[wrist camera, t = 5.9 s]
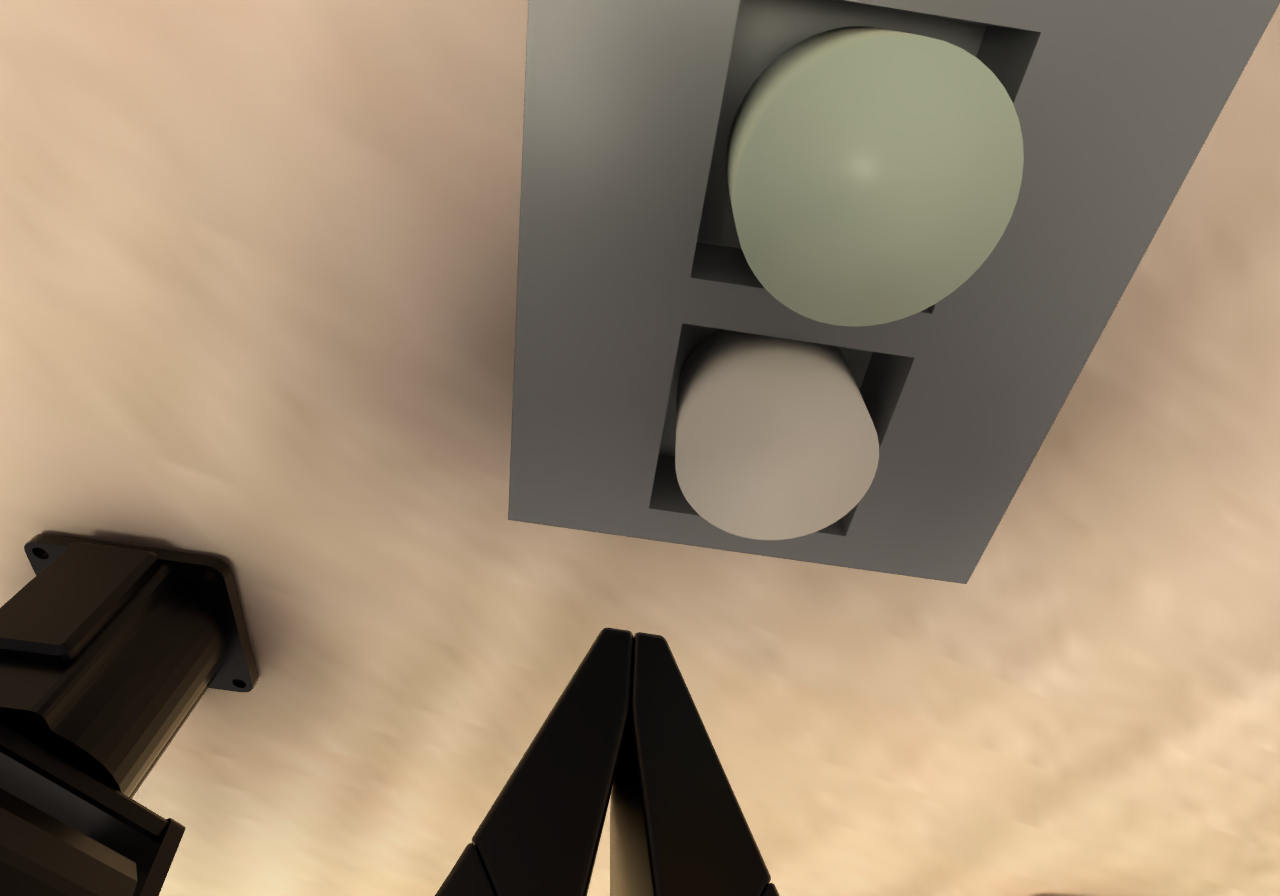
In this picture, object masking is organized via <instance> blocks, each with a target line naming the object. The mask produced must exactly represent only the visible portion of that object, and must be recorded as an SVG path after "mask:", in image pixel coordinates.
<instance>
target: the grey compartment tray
mask: <svg viewBox="0 0 1280 896" xmlns="http://www.w3.org/2000/svg"><path fill="white" fill-rule="evenodd" d="M1279 3H1280V0H528V22H527V48H526V74H525V99H524V125H523V151H522V177H521V202H520V228H519V254H518V280H517V306H516V331H515V357H514V383H513V409H512V434H511V460H510V486H509V512H508V520H513V521H520V522H528V523H535V524H542V525H549V526H556V527H563V528H570V529H577V530H585V531H592V532H599V533H606V534H613V535H620V536H627V537H634V538H642V539H649V540H656V541H663V542H670V543H677V544H684V545H691V546H699V547H706V548H713V549H720V550H727V551H734V552H741V553H748V554H756V555H763V556H770V557H777V558H784V559H791V560H798V561H805V562H813V563H820V564H827V565H834V566H841V567H848V568H855V569H862V570H870V571H877V572H884V573H891V574H898V575H905V576H912V577H919V578H927V579H934V580H941V581H948V582H955V583H962V584H967V582H968V580H969V578H970V576H971V574H972V573H973V571H974V569H975V567H976V565H977V563H978V561H979V560H980V558H981V556H982V554H983V552H984V550H985V549H986V547H987V545H988V543H989V541H990V539H991V537H992V536H993V534H994V532H995V530H996V528H997V526H998V524H999V523H1000V521H1001V519H1002V517H1003V515H1004V513H1005V511H1006V510H1007V508H1008V506H1009V504H1010V502H1011V500H1012V498H1013V497H1014V495H1015V493H1016V491H1017V489H1018V487H1019V485H1020V484H1021V482H1022V480H1023V478H1024V476H1025V474H1026V472H1027V471H1028V469H1029V467H1030V465H1031V463H1032V461H1033V459H1034V458H1035V456H1036V454H1037V452H1038V450H1039V448H1040V446H1041V445H1042V443H1043V441H1044V439H1045V437H1046V435H1047V433H1048V432H1049V430H1050V428H1051V426H1052V424H1053V422H1054V421H1055V419H1056V417H1057V415H1058V413H1059V411H1060V409H1061V408H1062V406H1063V404H1064V402H1065V400H1066V398H1067V396H1068V395H1069V393H1070V391H1071V389H1072V387H1073V385H1074V383H1075V382H1076V380H1077V378H1078V376H1079V374H1080V372H1081V370H1082V369H1083V367H1084V365H1085V363H1086V361H1087V359H1088V357H1089V356H1090V354H1091V352H1092V350H1093V348H1094V346H1095V344H1096V343H1097V341H1098V339H1099V337H1100V335H1101V333H1102V331H1103V330H1104V328H1105V326H1106V324H1107V322H1108V320H1109V318H1110V317H1111V315H1112V313H1113V311H1114V309H1115V307H1116V306H1117V304H1118V302H1119V300H1120V298H1121V296H1122V294H1123V293H1124V291H1125V289H1126V287H1127V285H1128V283H1129V281H1130V280H1131V278H1132V276H1133V274H1134V272H1135V270H1136V268H1137V267H1138V265H1139V263H1140V261H1141V259H1142V257H1143V255H1144V254H1145V252H1146V250H1147V248H1148V246H1149V244H1150V242H1151V241H1152V239H1153V237H1154V235H1155V233H1156V231H1157V229H1158V228H1159V226H1160V224H1161V222H1162V220H1163V218H1164V216H1165V215H1166V213H1167V211H1168V209H1169V207H1170V205H1171V203H1172V202H1173V200H1174V198H1175V196H1176V194H1177V192H1178V191H1179V189H1180V187H1181V185H1182V183H1183V181H1184V179H1185V178H1186V176H1187V174H1188V172H1189V170H1190V168H1191V166H1192V165H1193V163H1194V161H1195V159H1196V157H1197V155H1198V153H1199V152H1200V150H1201V148H1202V146H1203V144H1204V142H1205V140H1206V139H1207V137H1208V135H1209V133H1210V131H1211V129H1212V127H1213V126H1214V124H1215V122H1216V120H1217V118H1218V116H1219V114H1220V113H1221V111H1222V109H1223V107H1224V105H1225V103H1226V101H1227V100H1228V98H1229V96H1230V94H1231V92H1232V90H1233V88H1234V87H1235V85H1236V83H1237V81H1238V79H1239V77H1240V76H1241V74H1242V72H1243V70H1244V68H1245V66H1246V64H1247V63H1248V61H1249V59H1250V57H1251V55H1252V53H1253V51H1254V50H1255V48H1256V46H1257V44H1258V42H1259V40H1260V38H1261V37H1262V35H1263V33H1264V31H1265V29H1266V27H1267V25H1268V24H1269V22H1270V20H1271V18H1272V16H1273V14H1274V12H1275V11H1276V9H1277V7H1278V5H1279ZM853 26H866V27H877V28H883V29H888V30H894V31H899V32H905V33H910V34H916V35H921V36H926V37H930V38H935V39H939V40H943V41H946V42H948V43H950V44H953V45H955V46H957V47H960V48H962V49H964V50H965V51H967V52H968V53H970V54H971V55H973V56H975V57H976V58H978V59H979V60H980V61H981V62H982V63H983V64H984V65H986V66H987V67H988V68H989V69H990V70H991V71H992V72H993V73H994V74H995V76H996V77H997V78H998V80H999V81H1000V82H1001V83H1002V85H1003V86H1004V88H1005V89H1006V91H1007V93H1008V95H1009V97H1010V99H1011V100H1012V102H1013V105H1014V107H1015V110H1016V113H1017V116H1018V119H1019V122H1020V127H1021V133H1022V138H1023V152H1024V163H1023V174H1022V182H1021V186H1020V191H1019V195H1018V199H1017V202H1016V205H1015V208H1014V211H1013V214H1012V216H1011V219H1010V221H1009V223H1008V225H1007V227H1006V229H1005V231H1004V233H1003V235H1002V237H1001V238H1000V240H999V241H998V243H997V245H996V246H995V248H994V249H993V251H992V252H991V254H990V255H989V256H988V257H987V259H986V260H985V261H984V262H983V264H982V265H981V266H980V267H979V268H978V269H977V270H976V272H975V273H974V274H973V275H972V276H971V277H970V278H969V279H968V280H967V281H966V282H964V283H963V284H962V285H961V286H960V287H958V288H957V289H956V290H955V291H953V292H952V293H951V294H949V295H948V296H946V297H945V298H943V299H942V300H940V301H939V302H937V303H936V304H934V305H932V306H930V307H928V308H926V309H924V310H923V311H921V312H919V313H916V314H913V315H911V316H908V317H906V318H903V319H900V320H896V321H893V322H889V323H885V324H879V325H872V326H856V327H850V326H838V325H832V324H827V323H822V322H818V321H815V320H813V319H810V318H807V317H804V316H802V315H800V314H798V313H796V312H794V311H793V310H791V309H789V308H788V307H786V306H785V305H783V304H782V303H781V302H779V301H778V300H777V299H775V298H774V297H773V296H772V295H771V294H770V293H769V292H768V291H767V290H766V289H765V288H764V287H763V285H762V284H761V283H760V282H759V280H758V279H757V278H756V276H755V275H754V273H753V271H752V270H751V268H750V266H749V265H748V263H747V261H746V258H745V256H744V253H743V251H742V248H741V245H740V242H739V238H738V234H737V230H736V225H735V220H734V216H733V211H732V206H731V201H730V196H729V192H728V186H727V178H726V152H727V145H728V139H729V135H730V131H731V127H732V124H733V121H734V119H735V116H736V113H737V111H738V109H739V107H740V105H741V103H742V101H743V99H744V97H745V95H746V94H747V92H748V91H749V89H750V88H751V86H752V85H753V83H754V82H755V80H756V79H757V78H758V77H759V76H760V75H761V73H762V72H763V71H764V70H765V69H766V68H767V67H768V66H769V65H770V64H771V63H772V62H773V61H774V60H775V59H777V58H778V57H779V56H780V55H781V54H783V53H784V52H785V51H787V50H788V49H790V48H791V47H793V46H794V45H796V44H797V43H799V42H801V41H803V40H805V39H807V38H809V37H811V36H814V35H816V34H819V33H822V32H825V31H828V30H832V29H837V28H842V27H853ZM719 329H724V330H731V331H738V332H744V333H751V334H758V335H765V336H771V337H778V338H785V339H791V340H798V341H805V342H812V343H818V344H825V345H832V346H837V347H838V348H839V349H840V350H841V352H842V354H843V356H844V358H845V359H846V361H847V364H848V366H849V368H850V371H851V373H852V375H853V378H854V380H855V382H856V385H857V387H858V389H859V391H860V394H861V396H862V398H863V401H864V403H865V405H866V408H867V410H868V412H869V415H870V417H871V419H872V422H873V424H874V427H875V430H876V432H877V437H878V442H879V460H878V467H877V470H876V473H875V476H874V479H873V481H872V483H871V485H870V487H869V489H868V490H867V492H866V493H865V495H864V496H863V498H862V499H861V500H860V501H859V502H858V504H857V505H856V506H855V507H854V508H853V509H852V510H851V511H849V512H848V513H847V514H846V515H845V516H843V517H842V518H841V519H839V520H838V521H836V522H835V523H833V524H831V525H829V526H827V527H826V528H823V529H821V530H819V531H816V532H814V533H811V534H808V535H805V536H801V537H796V538H791V539H783V540H757V539H750V538H745V537H740V536H737V535H734V534H731V533H728V532H726V531H724V530H721V529H719V528H717V527H716V526H714V525H712V524H711V523H709V522H708V521H706V520H705V519H704V518H702V517H701V516H700V515H699V514H698V513H697V512H696V511H695V510H694V509H693V508H692V507H691V505H690V504H689V503H688V501H687V500H686V498H685V496H684V495H683V493H682V491H681V488H680V486H679V483H678V480H677V475H676V468H675V447H676V408H677V389H678V382H679V379H680V375H681V372H682V370H683V368H684V365H685V364H686V362H687V360H688V359H689V357H690V355H691V354H692V353H693V352H694V350H695V349H696V348H697V347H698V346H699V345H700V344H701V343H702V342H703V341H704V340H705V339H706V338H708V337H709V336H710V335H712V334H713V333H714V332H716V331H718V330H719Z"/></svg>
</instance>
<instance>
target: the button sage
mask: <svg viewBox="0 0 1280 896" xmlns="http://www.w3.org/2000/svg"><path fill="white" fill-rule="evenodd" d="M1023 163H1024V152H1023V138H1022V133H1021V127H1020V122H1019V119H1018V116H1017V113H1016V110H1015V107H1014V105H1013V102H1012V100H1011V99H1010V97H1009V95H1008V93H1007V91H1006V89H1005V88H1004V86H1003V85H1002V83H1001V82H1000V81H999V80H998V78H997V77H996V76H995V74H994V73H993V72H992V71H991V70H990V69H989V68H988V67H987V66H986V65H984V64H983V63H982V62H981V61H980V60H979V59H978V58H976V57H975V56H973V55H971V54H970V53H968V52H967V51H965V50H964V49H962V48H960V47H957V46H955V45H953V44H950V43H948V42H946V41H943V40H939V39H935V38H930V37H926V36H921V35H916V34H910V33H905V32H899V31H894V30H888V29H883V28H877V27H866V26H853V27H842V28H837V29H832V30H828V31H825V32H822V33H819V34H816V35H814V36H811V37H809V38H807V39H805V40H803V41H801V42H799V43H797V44H796V45H794V46H793V47H791V48H790V49H788V50H787V51H785V52H784V53H783V54H781V55H780V56H779V57H778V58H777V59H775V60H774V61H773V62H772V63H771V64H770V65H769V66H768V67H767V68H766V69H765V70H764V71H763V72H762V73H761V75H760V76H759V77H758V78H757V79H756V80H755V82H754V83H753V85H752V86H751V88H750V89H749V91H748V92H747V94H746V95H745V97H744V99H743V101H742V103H741V105H740V107H739V109H738V111H737V113H736V116H735V119H734V121H733V124H732V127H731V131H730V135H729V139H728V145H727V152H726V178H727V186H728V192H729V196H730V201H731V206H732V211H733V216H734V220H735V225H736V230H737V234H738V238H739V242H740V245H741V248H742V251H743V253H744V256H745V258H746V261H747V263H748V265H749V266H750V268H751V270H752V271H753V273H754V275H755V276H756V278H757V279H758V280H759V282H760V283H761V284H762V285H763V287H764V288H765V289H766V290H767V291H768V292H769V293H770V294H771V295H772V296H773V297H774V298H775V299H777V300H778V301H779V302H781V303H782V304H783V305H785V306H786V307H788V308H789V309H791V310H793V311H794V312H796V313H798V314H800V315H802V316H804V317H807V318H810V319H813V320H815V321H818V322H822V323H827V324H832V325H838V326H850V327H856V326H872V325H879V324H885V323H889V322H893V321H896V320H900V319H903V318H906V317H908V316H911V315H913V314H916V313H919V312H921V311H923V310H924V309H926V308H928V307H930V306H932V305H934V304H936V303H937V302H939V301H940V300H942V299H943V298H945V297H946V296H948V295H949V294H951V293H952V292H953V291H955V290H956V289H957V288H958V287H960V286H961V285H962V284H963V283H964V282H966V281H967V280H968V279H969V278H970V277H971V276H972V275H973V274H974V273H975V272H976V270H977V269H978V268H979V267H980V266H981V265H982V264H983V262H984V261H985V260H986V259H987V257H988V256H989V255H990V254H991V252H992V251H993V249H994V248H995V246H996V245H997V243H998V241H999V240H1000V238H1001V237H1002V235H1003V233H1004V231H1005V229H1006V227H1007V225H1008V223H1009V221H1010V219H1011V216H1012V214H1013V211H1014V208H1015V205H1016V202H1017V199H1018V195H1019V191H1020V186H1021V182H1022V174H1023Z"/></svg>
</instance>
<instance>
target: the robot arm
mask: <svg viewBox="0 0 1280 896" xmlns="http://www.w3.org/2000/svg"><path fill="white" fill-rule="evenodd" d="M24 549H25V552H26V555H27V557H28V559H29V561H30V563H31V565H32V567H33V570H34V572H35V574H36V577H35V578H33V579H32V580H31V581H30V582H29V583H28V584H27V585H26V586H24V587H23V588H22V589H21V590H20V591H19V592H18V593H17V594H16V595H14V596H13V597H12V598H11V599H10V600H9V601H8V602H7V603H5V604H4V605H3V606H2V607H1V608H0V896H159V893H160V891H161V888H162V886H163V883H164V881H165V878H166V876H167V873H168V871H169V868H170V866H171V863H172V861H173V858H174V856H175V853H176V851H177V848H178V846H179V843H180V841H181V838H182V836H183V833H184V831H185V826H183V825H181V824H180V823H178V822H176V821H175V820H173V819H171V818H169V819H164V818H163V817H161V816H159V815H158V814H156V813H154V812H153V811H151V810H149V809H148V808H146V807H144V806H143V805H141V804H139V803H138V802H136V801H134V800H133V799H132V797H133V796H134V795H135V793H136V792H137V790H138V789H139V787H140V786H141V784H142V783H143V781H144V780H145V779H146V777H147V776H148V774H149V773H150V771H151V770H152V768H153V767H154V766H155V764H156V763H157V761H158V760H159V758H160V757H161V755H162V754H163V752H164V751H165V750H166V748H167V747H168V745H169V744H170V742H171V741H172V739H173V738H174V737H175V735H176V734H177V732H178V731H179V729H180V728H181V726H182V725H183V723H184V722H185V721H186V719H187V718H188V716H189V715H190V713H191V712H192V710H193V709H194V708H195V706H196V705H197V703H198V702H199V700H200V699H201V697H202V696H203V694H204V693H205V692H206V690H207V689H208V688H214V689H222V690H229V691H237V692H249V691H251V690H252V689H253V687H254V685H255V684H256V682H257V681H258V674H257V670H256V666H255V662H254V658H253V654H252V651H251V647H250V643H249V639H248V635H247V631H246V627H245V623H244V619H243V615H242V611H241V608H240V604H239V600H238V596H237V592H236V588H235V584H234V580H233V576H232V572H231V569H230V567H229V566H228V565H227V564H226V563H225V562H224V561H222V560H220V559H218V558H214V557H208V556H201V555H194V554H187V553H179V552H172V551H165V550H158V549H150V548H143V547H136V546H128V545H121V544H114V543H107V542H99V541H92V540H85V539H77V538H70V537H63V536H56V535H48V534H38V535H36V536H35V537H33V538H32V539H31V540H30V541H29V542H27V543H26V544H25V546H24ZM610 795H611V805H610V896H779V894H778V891H777V889H776V887H775V885H774V884H773V883H769V882H770V880H771V876H770V874H769V872H768V869H767V867H766V865H765V863H764V860H763V858H762V856H761V853H760V851H759V849H758V847H757V844H756V842H755V840H754V838H753V835H752V833H751V831H750V829H749V826H748V824H747V822H746V820H745V817H744V815H743V813H742V810H741V808H740V806H739V804H738V801H737V799H736V797H735V795H734V792H733V790H732V788H731V786H730V783H729V781H728V779H727V777H726V774H725V772H724V770H723V767H722V765H721V763H720V761H719V758H718V756H717V754H716V752H715V749H714V747H713V745H712V743H711V740H710V738H709V736H708V734H707V731H706V729H705V727H704V724H703V722H702V720H701V718H700V715H699V713H698V711H697V709H696V706H695V704H694V702H693V700H692V697H691V695H690V693H689V691H688V688H687V686H686V684H685V681H684V679H683V677H682V675H681V672H680V670H679V668H678V666H677V663H676V661H675V659H674V657H673V654H672V652H671V650H670V647H669V645H668V643H667V641H666V639H665V638H664V637H662V636H660V635H654V634H647V633H640V632H639V633H636V634H635V635H634V636H633V634H632V633H631V632H630V631H627V630H620V629H613V628H604V629H603V630H602V631H601V632H600V633H599V635H598V637H597V638H596V640H595V642H594V643H593V645H592V646H591V648H590V650H589V651H588V653H587V654H586V656H585V658H584V659H583V661H582V662H581V664H580V666H579V667H578V669H577V670H576V672H575V674H574V675H573V677H572V678H571V680H570V682H569V683H568V685H567V687H566V688H565V690H564V691H563V693H562V695H561V696H560V698H559V699H558V701H557V703H556V704H555V706H554V707H553V709H552V711H551V712H550V714H549V715H548V717H547V719H546V720H545V722H544V723H543V725H542V727H541V728H540V730H539V731H538V733H537V735H536V736H535V738H534V740H533V741H532V743H531V744H530V746H529V748H528V749H527V751H526V752H525V754H524V756H523V757H522V759H521V760H520V762H519V764H518V765H517V767H516V768H515V770H514V772H513V773H512V775H511V776H510V778H509V780H508V781H507V783H506V785H505V786H504V788H503V789H502V791H501V793H500V794H499V796H498V797H497V799H496V801H495V802H494V804H493V805H492V807H491V809H490V810H489V812H488V813H487V815H486V817H485V818H484V820H483V821H482V823H481V825H480V826H479V828H478V830H477V831H476V833H475V834H474V836H473V838H472V843H469V844H468V845H467V846H466V848H465V850H464V851H463V853H462V854H461V856H460V858H459V859H458V861H457V862H456V864H455V866H454V867H453V869H452V871H451V872H450V874H449V875H448V877H447V878H446V880H445V881H444V883H443V884H442V886H441V887H440V889H439V890H438V892H437V893H436V895H435V896H587V893H588V889H589V884H590V880H591V876H592V872H593V867H594V863H595V859H596V855H597V851H598V846H599V842H600V838H601V834H602V829H603V825H604V821H605V817H606V812H607V808H608V804H609V799H610Z"/></svg>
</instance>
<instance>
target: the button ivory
mask: <svg viewBox="0 0 1280 896" xmlns="http://www.w3.org/2000/svg"><path fill="white" fill-rule="evenodd" d="M878 460H879V442H878V437H877V432H876V430H875V427H874V424H873V422H872V419H871V417H870V415H869V412H868V410H867V408H866V405H865V403H864V401H863V398H862V396H861V394H860V391H859V389H858V387H857V385H856V382H855V380H854V378H853V375H852V373H851V371H850V368H849V366H848V364H847V361H846V359H845V358H844V356H843V354H842V352H841V350H840V349H839V348H838V347H837V346H832V345H825V344H818V343H812V342H805V341H798V340H791V339H785V338H778V337H771V336H765V335H758V334H751V333H744V332H738V331H731V330H724V329H719V330H718V331H716V332H714V333H713V334H712V335H710V336H709V337H708V338H706V339H705V340H704V341H703V342H702V343H701V344H700V345H699V346H698V347H697V348H696V349H695V350H694V352H693V353H692V354H691V355H690V357H689V359H688V360H687V362H686V364H685V365H684V368H683V370H682V372H681V375H680V379H679V382H678V389H677V408H676V447H675V468H676V475H677V480H678V483H679V486H680V488H681V491H682V493H683V495H684V496H685V498H686V500H687V501H688V503H689V504H690V505H691V507H692V508H693V509H694V510H695V511H696V512H697V513H698V514H699V515H700V516H701V517H702V518H704V519H705V520H706V521H708V522H709V523H711V524H712V525H714V526H716V527H717V528H719V529H721V530H724V531H726V532H728V533H731V534H734V535H737V536H740V537H745V538H750V539H757V540H783V539H791V538H796V537H801V536H805V535H808V534H811V533H814V532H816V531H819V530H821V529H823V528H826V527H827V526H829V525H831V524H833V523H835V522H836V521H838V520H839V519H841V518H842V517H843V516H845V515H846V514H847V513H848V512H849V511H851V510H852V509H853V508H854V507H855V506H856V505H857V504H858V502H859V501H860V500H861V499H862V498H863V496H864V495H865V493H866V492H867V490H868V489H869V487H870V485H871V483H872V481H873V479H874V476H875V473H876V470H877V467H878Z"/></svg>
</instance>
